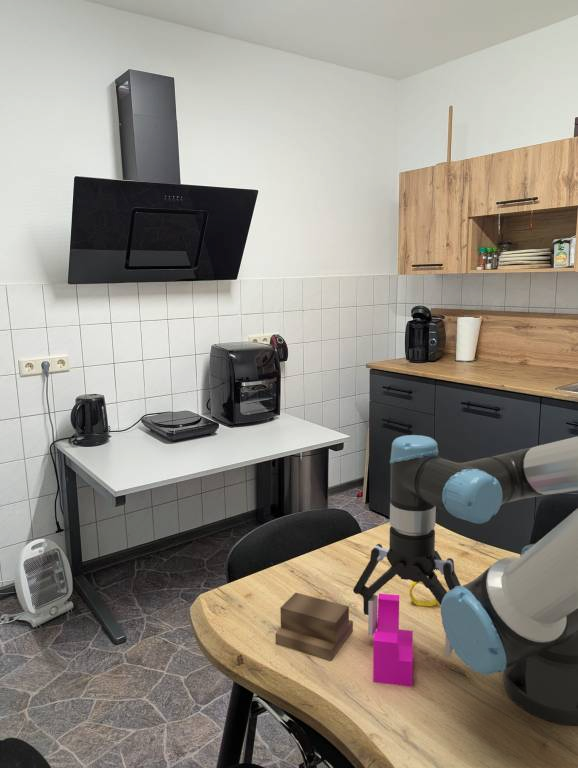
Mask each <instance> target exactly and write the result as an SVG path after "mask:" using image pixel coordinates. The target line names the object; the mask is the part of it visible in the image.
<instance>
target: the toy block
mask: <svg viewBox="0 0 578 768" xmlns="http://www.w3.org/2000/svg"><path fill="white" fill-rule="evenodd" d="M413 633H414V632H413V630H409V629H408V630H407V629H402V628H401V629H400V595H399V594H389V593H378V610H377V629H376V631H375V632H374V634H373V647H372V648H373V651H372V652H373V655H372V659H373V662H372V663H373V664H372V683H380V684H388V685H394V686H395V685H396V686H404V687H411V688H413V671H414V669H413V668H414V666H413V664H414V655H413V654H414V653H413V651H414V650H413V649H414V645H413V644H414V643H413V641H414V639H413V638H414V637H413V635H414V634H413Z"/></svg>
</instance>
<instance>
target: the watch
mask: <svg viewBox="0 0 578 768" xmlns="http://www.w3.org/2000/svg"><path fill="white" fill-rule="evenodd" d="M418 584H423V583H422V581H420V582H419V583H417V582H413V581H411V584H410V586H409V592H408V593H409V597H410V599H411V601H412V603H413V604H414V605H415V606H417V607H419V606H420V607H429V608H432V607H434V606H436V605H437V604H438V603H439V602H438V601H437V600H436V598H435V599H434V600H432V601H419V600H417V599H416V598H415V597H414V595H413V588H414V587H415V586H416V585H418ZM423 585H424V584H423Z"/></svg>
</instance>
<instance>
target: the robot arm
mask: <svg viewBox="0 0 578 768" xmlns="http://www.w3.org/2000/svg"><path fill="white" fill-rule="evenodd" d="M389 465H390V471H389V472H390V474H389V475H390V483H389V484H390V487H389V489H390V492H389V493H390V501H389V502H390V503H389V524H390V527H389V541H388V543H389V544H388V545H389V549H387V548H384V547H383V545H382V544H380V543H377V544H375V546H374V547H373V549H371V551H370V559H369V561H368V563H367V564H366V567H365V568H364V570H363V572H362V573H361V575H360V576H359V579H358V581H357V582H356V584H355V586H354V587H353V589H352V591H353V593H354V594H356V595H360V596H361V597H362V598H363V608H362V609H363V614H364V615H366V616H367V617H368V618H367V625H368V626H367V635H368V636H374V632H375V631H377V621H378V597H379V594H376V593H377V592H378V591H379V590H380V589H381V588H382V587H384V586H385V585H386V584H387V583H388V582H389V581H390V580H392V579H393V578H394V577H395V576H398V577H399V578H400V580H405V581H408V580H409V581H411V582H417V583H418V584H420V583H419V582H420V581H422V583H423V586H424V588H426V589H428V590H429V591H430V593H431V594H432V595H433V597H434V598H435V599H436V600H437V601H438V603H439V605H440V616H441V620H442V621H441V623H442V627H443V630H444V631H443V632H444V634H445V638H444V639H445V643H444V644H445V646H444V657H446V658H450V657H451V655H452V652H454V653H455V654H456V655H457V657H458V658H459V660H461V662H462V663H463V664H464V665H466V666H467V667H469V668H470V669H471V670H472V671H473V672H475V673H477V674H480V675H485V676H486V675H487V676H489V675H493V674H496V673H502V683H503V688H504V690H505V692H506V693H507V695H508V696H509V697H510V698H511V699H512V700H513V702H514V703H516V704H517V705H519V707H521V708H522V709H524V710H525V711H527V712H529V713H530V714H531V715H534V716H535V717H539V718H540V719H544V720H546V721H549V722H552V723H556V724H561V725H562V724H563V725H569V726H570V725H571V726H572V725H573V726H578V507H577V508H576V509H575V510H574V511H573V512H572V513H570V514H569V515H568V516H567V517H566V518H564V519H563V520H562V521H561V522H559V523H558V524H557V525H556V526H555V527H554V528H552V530H550V531H549V532H548V533H546V535H544V536H543V537H542V538H541V539H539V540H538V541H537V542H535V543H531V544H528V545H525V546H524V547H523V548H522V549H521V553H520V555H519V557H510V556H509V557H502V558H500V559H498V560H496V561H495V562H493V563H492V564H491V565H490V566H489V567H488V568H487V569H486V570H484V571H483V572H482V573H481V574H480V575H479V576H477V577H476V578H474V580H472V581H470V582H467V583H466V584H464V585H461V582H460V581H459V578H458V576H457V574H456V572H455V561H454V560H453V558H451V557H450V558H449V557H448V558H447V559H445V560H443V559H442V560H437V559H436V557H435V554H434V551H435V550H436V549H435V544H436V530H435V528H436V512H437V511H436V509H437V508H438V509H440V510H442V511H443V512H446V513H448V514H449V515H451V516H453V517H455V518H456V519H460V520H463V521H468V522H470V523H473V524H484V523H486V522H489V521H490V520H491V518H492V517H493V516H495V515H496V514H497V513H498V511H499V510H500V508H501V505H504V504H507V503H511V502H515V501H519V500H524V499H531V498H535V497H537V498H538V497H545V496H548V495H555V494H563V493H569V492H575V491H578V436H573V437H570V438H566V439H561V440H556V441H553V442H549V443H545V444H540V445H536V446H533V447H529V448H523V449H519V450H514V451H511V452H507V453H506V452H505V453H502V454H497V455H493V456H488V457H484V458H478V459H475V460H471V461H465V462H456V461H451V460H449V459H446V458H444V457H442V456H439V449H438V442H437V441H436V440H435V439H434V438H432V437H430V436H426V435H420V434H419V435H417V434H410V435H408V434H407V435H402V436H399V437H396V438H395V439H394V440H393V441H392V443H391V451H390V460H389ZM384 558H386V560H388V563H389V564H390V565H391V566H390V567H389V568H388V569H387V570H386V571H385V572H384V573H383V574H381V576H380V577H378V578H377V579H376V580H374V581H373V582H372V584H371V585H369V586H366V584H367V583H368V581H369V580H370V577H371V576H372V574H373V572H374V570H375V569H376V567H377V566H378V564H379V562H382V561H383V560H384ZM435 567H436V568H438V569H439V570H438V571H439V572H440V574H441V575H443V579H444V581H445V584H446V585H447V588H448V590H446V588H445V587H444V586H443V584H442V583H441V582H440V580H439V578H438V576H437V574H436V573H435V570H434V569H435ZM422 583H421V584H422Z"/></svg>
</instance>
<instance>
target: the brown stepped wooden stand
mask: <svg viewBox="0 0 578 768" xmlns="http://www.w3.org/2000/svg"><path fill="white" fill-rule="evenodd" d="M279 612H280V628H279V629H277V631H276V632H275V644H276V645H278V646H283V647H286V648H289V649H292V650H296V651H299V652H302V653H305V654H308V655H312V656H314V657H318V658H321V659H324V660H328V661H332V660H333V659H334V657H335V656H336V654H337V653H339V650H340V649H341V647H343V645H344V643H346V641H347V640H348V638H349V637H350V635H351V634H352V633H353V631H354V621H353V620H352V619H350V605H345V604H341V603H337V602H334V601H330V600H326V599H322V598H319V597H315V596H311V595H306V594H302V593H299V592H294V593H293V594H292V595H291V597H290V598H288V599H287V601H285V602H284V603H283V605H282V606H280V611H279Z"/></svg>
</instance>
